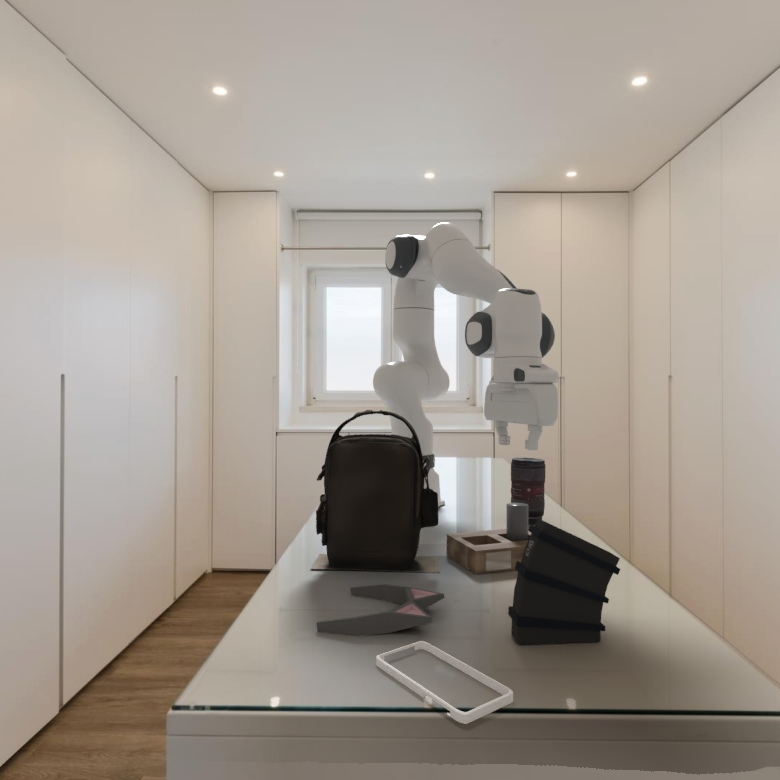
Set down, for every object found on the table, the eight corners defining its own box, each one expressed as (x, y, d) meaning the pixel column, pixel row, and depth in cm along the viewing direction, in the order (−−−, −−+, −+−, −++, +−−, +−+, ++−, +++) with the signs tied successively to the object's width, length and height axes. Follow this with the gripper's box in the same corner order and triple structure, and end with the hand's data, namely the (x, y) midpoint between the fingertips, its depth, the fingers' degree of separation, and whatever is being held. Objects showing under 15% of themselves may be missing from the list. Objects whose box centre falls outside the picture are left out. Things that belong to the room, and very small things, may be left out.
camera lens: (546, 526, 132) (546, 461, 132) (510, 524, 133) (510, 460, 133) (544, 518, 140) (544, 457, 140) (510, 516, 141) (510, 456, 141)
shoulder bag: (438, 557, 107) (438, 409, 107) (439, 573, 98) (439, 410, 98) (319, 555, 109) (319, 408, 109) (310, 570, 100) (310, 410, 100)
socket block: (446, 555, 109) (446, 534, 109) (519, 547, 114) (519, 527, 114) (476, 575, 97) (477, 551, 97) (556, 565, 102) (556, 543, 102)
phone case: (516, 704, 58) (422, 650, 70) (516, 691, 58) (422, 639, 70) (463, 730, 54) (373, 667, 66) (463, 715, 54) (373, 655, 66)
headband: (350, 583, 88) (446, 582, 84) (352, 603, 88) (448, 603, 84) (315, 617, 75) (427, 618, 71) (317, 641, 74) (429, 643, 70)
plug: (502, 556, 108) (502, 503, 108) (520, 554, 109) (520, 502, 109) (513, 562, 104) (513, 507, 104) (532, 560, 106) (532, 506, 106)
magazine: (485, 622, 73) (534, 516, 74) (574, 662, 74) (622, 557, 75) (493, 634, 70) (544, 523, 70) (586, 676, 71) (636, 566, 71)
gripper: (476, 374, 116) (476, 442, 116) (533, 372, 96) (532, 453, 96) (504, 374, 118) (503, 441, 118) (564, 372, 98) (564, 452, 98)
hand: (517, 447), depth 107 cm, fingers open, 8 cm apart
